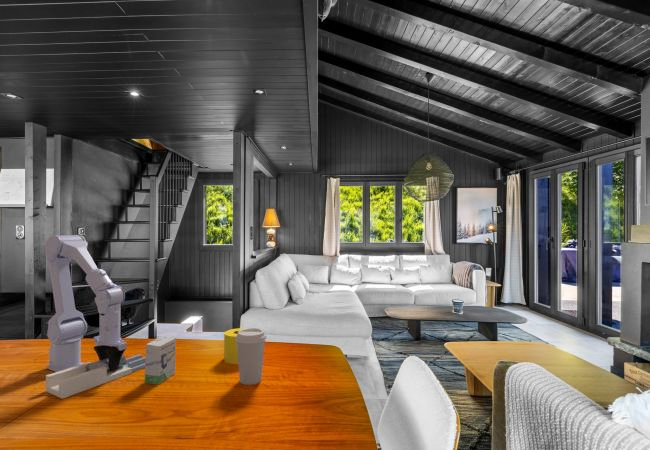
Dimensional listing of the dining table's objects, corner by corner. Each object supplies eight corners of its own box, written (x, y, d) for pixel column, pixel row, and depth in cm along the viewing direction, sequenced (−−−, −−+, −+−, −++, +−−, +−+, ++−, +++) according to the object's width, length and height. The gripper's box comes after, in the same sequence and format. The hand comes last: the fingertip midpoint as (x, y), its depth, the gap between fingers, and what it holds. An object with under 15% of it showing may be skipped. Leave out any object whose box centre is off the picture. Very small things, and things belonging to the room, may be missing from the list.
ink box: (162, 372, 117) (162, 335, 117) (176, 373, 116) (176, 337, 116) (143, 383, 109) (144, 344, 109) (159, 385, 108) (159, 345, 108)
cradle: (117, 367, 121) (117, 359, 121) (137, 360, 127) (137, 353, 127) (132, 372, 117) (132, 364, 117) (151, 364, 123) (152, 357, 123)
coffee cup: (272, 377, 114) (272, 329, 114) (254, 389, 105) (254, 338, 105) (247, 371, 118) (247, 325, 118) (228, 383, 109) (228, 333, 110)
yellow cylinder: (258, 357, 132) (258, 331, 132) (238, 366, 123) (238, 338, 123) (238, 351, 137) (239, 326, 137) (218, 359, 129) (218, 333, 129)
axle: (93, 378, 109) (93, 365, 109) (86, 375, 111) (86, 362, 111) (125, 367, 117) (125, 355, 117) (118, 364, 119) (118, 352, 119)
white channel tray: (45, 391, 103) (45, 375, 103) (115, 367, 121) (115, 354, 121) (62, 398, 99) (62, 382, 99) (131, 373, 117) (131, 359, 117)
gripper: (84, 325, 115) (83, 368, 115) (110, 332, 108) (110, 378, 108) (106, 320, 121) (106, 361, 121) (133, 326, 114) (132, 370, 114)
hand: (109, 368), depth 115 cm, fingers closed on axle, 4 cm apart
